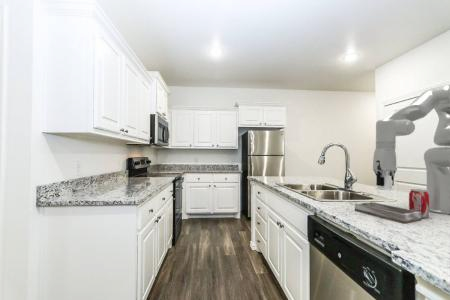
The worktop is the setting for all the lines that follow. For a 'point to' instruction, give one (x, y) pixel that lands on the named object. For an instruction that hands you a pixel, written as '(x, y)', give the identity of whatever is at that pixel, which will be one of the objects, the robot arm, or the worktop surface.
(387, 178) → the downlight
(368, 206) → the silver picture frame
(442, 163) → the robot arm
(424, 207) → the soda can
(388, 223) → the worktop surface
